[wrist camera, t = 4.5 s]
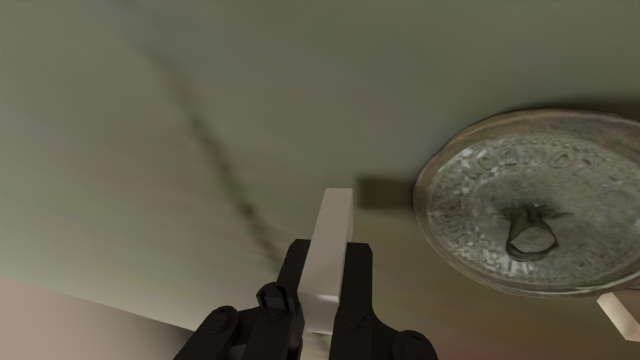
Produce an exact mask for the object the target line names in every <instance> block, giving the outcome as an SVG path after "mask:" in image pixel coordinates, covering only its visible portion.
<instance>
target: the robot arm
mask: <svg viewBox="0 0 640 360" xmlns="http://www.w3.org/2000/svg"><path fill="white" fill-rule="evenodd" d="M352 231H353V194H352V189H345V188H326V190H325V194H324V197H323V201H322V204H321V208H320V212H319V215H318V219H317V222H316V226H315V229H314V233H313V236H312V240H306V239H296V240H295V241H294V242H293V243H292V244H291V245H290V246H289V249H288V252H287V254H286V257H285V260H284V262H283V265H282V268H281V271H280V273H279V276H278V279H277V282H271V283H269V284H266V285H265V286H263V287H262V288H261V289H260V290H259V291H258V293H257V295H256V297H257V300H258V303H259V305H260V306H258V307H255V308H252V309H247V310H242V311H237V310H236V309H235V308H234V307H232V306H227V305H226V306H222V307H219V308H217V309H215V310H213V311H212V312H211V313H210V314H209V315H208V316H207V317H206V319H205V320H204V321H203V322H202V324H201V325H200V326H199V327H198V329H197V330H196V331H195V332H194V334H193V335H192V336H191V338H190V339H189V340H188V341H187V343H186V344H185V345H184V346H183V348H182V349H181V350H180V351H179V353H178V354H177V355H176V356H175V358H174V359H173V360H300V356H301V351H302V347H303V339H302V334H303V329H304V325H305V329H306V331H312V332H318V333H325V334H332V340H331V347H330V355H329V360H439V359H438V357H437V354H436V352H435V349H434V348H433V346H432V344H431V343H430V341H429V340H428V339H427V338H426V337H425V336H424V335H423V334H420V333H418V332H416V331H413V330H405V331H402V332H399V331H397V330H394V329H392V328H390V327H388V326H387V325H385V324H383V323H382V322H381V321H380V320H379V319H378V318H377V316H376V315H375V313H374V311H373V308H372V258H373V252H372V250H371V248H370V246H369V244H367V243H353V242H351V240H352Z"/></svg>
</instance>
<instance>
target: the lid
mask: <svg viewBox="0 0 640 360" xmlns="http://www.w3.org/2000/svg"><path fill="white" fill-rule="evenodd" d="M413 211H414V212H415V215H416V220H417V223H418V227H419V228H420V229H421V231H422V233H423V234H424V236H425V238H426V239H427V241H428V243H429V244H430V245H431V246H432V247H433V248H434V250H435V251H436V252H437V253H438V254H439V255H440V256H441V257H442V258H443V259H444V260H445V261H446V262H447V263H448V264H449V265H451V266H452V267H453V268H455V269H456V270H458V271H459V272H461V273H463V274H464V275H465V276H467V277H469V278H471V279H473V280H475V281H477V282H479V283H481V284H483V285H485V286H488V287H492V288H495V289H497V290H500V291H502V292H505V293H509V294H513V295H518V296H519V295H521V296H528V297H537V298H539V297H542V298H552V299H563V298H582V297H593V296H598V295H603V294H606V293H611V292H615V291H620V290H623V289H626V288H629V287H633V286H636V285H640V121H637V120H634V119H631V118H626V117H623V116H620V115H618V114H615V113H613V112H602V111H595V110H581V109H562V108H543V109H528V110H518V111H515V112H509V113H500V114H496V115H493V116H491V117H488V118H486V119H484V120H481V121H479V122H476V123H474V124H472V125H470V126H469V127H467V128H465V129H463V130H461V131H459V132H458V133H457V134H456V135H454V136H453V137H452V138H451V139H449V140H448V141H447V142H446V143H445V144H444V146H443V147H442V148H440V149H439V150H438V151H437V152H436V153H435V154H434V155H432V156H431V158H430V159H429V160H428V161H427V162H426V163H425V165H424V166H423V167H422V169H421V170H420V172H419V174H418V177H417V180H416V183H415V185H414V191H413Z"/></svg>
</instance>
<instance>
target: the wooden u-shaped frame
mask: <svg viewBox="0 0 640 360" xmlns="http://www.w3.org/2000/svg"><path fill="white" fill-rule="evenodd" d="M597 302H598V303H599V305H600V306H601V307H602V309H603V310H604V311H605V313H606V314H607V315H608V317H609V318H610V319H611V321H612V322H613V323H614V324H615V326H616V327H617V328H618V330H619V331H620V332H621V334H622V335H623V336H624V338H625V339H626V340H632V341H640V290H630V289H623V290H620V291H615V292H611V293H606V294H603V295H601V296H600V297H599V299H598V300H597Z"/></svg>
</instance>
